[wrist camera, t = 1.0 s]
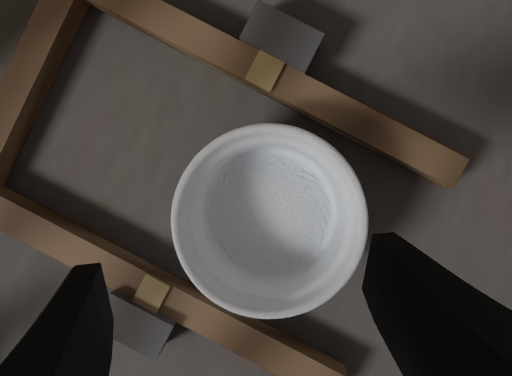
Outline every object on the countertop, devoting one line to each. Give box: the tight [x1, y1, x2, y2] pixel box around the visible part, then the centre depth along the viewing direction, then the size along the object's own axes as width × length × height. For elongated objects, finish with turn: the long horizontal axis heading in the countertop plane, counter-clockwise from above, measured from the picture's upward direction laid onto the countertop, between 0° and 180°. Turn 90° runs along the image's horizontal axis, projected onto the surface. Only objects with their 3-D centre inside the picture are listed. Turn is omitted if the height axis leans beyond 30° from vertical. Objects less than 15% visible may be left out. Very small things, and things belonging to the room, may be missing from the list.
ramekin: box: [171, 123, 369, 319], centre depth 21 cm, size 9×9×4 cm
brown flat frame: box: [0, 0, 470, 376], centre depth 22 cm, size 23×18×2 cm
